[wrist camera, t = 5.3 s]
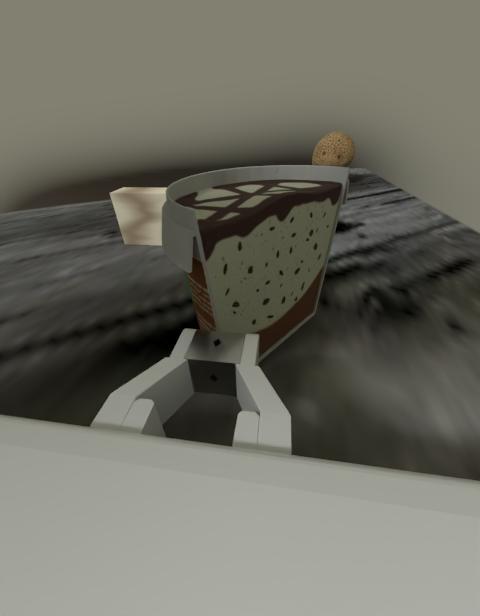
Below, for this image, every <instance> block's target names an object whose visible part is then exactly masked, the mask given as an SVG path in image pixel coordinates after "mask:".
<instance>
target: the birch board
mask: <svg viewBox="0 0 480 616" xmlns="http://www.w3.org/2000/svg"><path fill="white" fill-rule="evenodd" d="M166 189H167V188H121V189H118V190H116V191H114V192H111V193H110V196H111V199H112V203H113V206H114V209H115V213H116V216H117V219H118V223H119V226H120V230H121V233H122V236H123V240H124V243H125V244H131V245H158V246H162V206H163V204H164V203H165V201H167V200H166Z"/></svg>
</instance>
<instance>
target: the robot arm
mask: <svg viewBox="0 0 480 616" xmlns="http://www.w3.org/2000/svg"><path fill="white" fill-rule="evenodd" d="M258 360H259V334H247V333H246V334H244V333H231V332H218V331H209V330H199V329H197V330H196V329H187V328H185V329H184V330H183V331H182V333H181V335H180V337H179V339H178V341H177V343H176V345H175V347H174V349H173V351H172V353H171V355H170V357H165V358H164V359H162V360H161V361H159V362H158V363H156V364H155V365H153V366H152V367H150V368H149V369H147V370H146V371H144V372H143V373H141V374H140V375H138V376H137V377H135V378H134V379H132V380H131V381H129V382H128V383H126V384H125V385H123V386H121V387H120V388H118V389H117V390H115V391H114V392H112V393H111V394H110V396H109V397H108V399H107V400H106V402H105V403H104V405H103V406H102V408H101V409H100V411H99V413H98V414H97V416H96V417H95V419H94V420H93V422H92V423H91V425H90V426H89V427H87V426H79V425H72V424H65V423H58V422H51V421H43V420H36V419H29V418H22V417H15V416H7V415H0V616H480V481H477V480H470V479H463V478H455V477H448V476H441V475H434V474H426V473H419V472H412V471H405V470H398V469H390V468H383V467H376V466H369V465H361V464H354V463H347V462H340V461H333V460H325V459H318V458H311V457H304V456H296V455H291V415H290V413H289V412H288V410H287V409H286V407H285V406H284V404H283V403H282V401H281V399H280V398H279V396H278V395H277V393H276V392H275V390H274V389H273V387H272V385H271V384H270V382H269V381H268V379H267V378H266V376H265V375H264V373H263V371H262V370H261V368H260V367H259V366H258ZM194 392H200V393H212V394H221V395H228V396H235V397H237V399H238V401H239V404H240V406H241V408H242V411H241V412H240V413H238V417H237V422H236V428H235V433H234V439H233V444H232V447H231V446H224V445H217V444H210V443H202V442H195V441H188V440H181V439H173V438H166V435H165V432H164V430H163V427H162V425H163V424H164V423H165V422H166V421H167V420H168V419H169V418H170V417H171V416H172V415H173V414H174V413H175V412H176V411H177V410H178V409H179V408H180V407H181V406H182V405H183V404H184V403H185V402H186V401H187V400H188V399H189V398H190V397H191V396H192V395H193V394H194Z"/></svg>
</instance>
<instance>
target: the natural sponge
mask: <svg viewBox="0 0 480 616" xmlns="http://www.w3.org/2000/svg"><path fill="white" fill-rule="evenodd" d="M354 155H355V145H354V143H353V141H352V139H351V138H350V137H349V136H348V135H346V134H344V133H343V132H339V131H336V132H332V133H330V134H328V135H327V136H325V137H324V138H323V139H322V140H320V142H319V143H318V144H317V146H316V148H315V150H314V153H313V158H312V163H313V166H336V167H347V168H348V167H349V165H350V164H351V162H352V160H353V158H354Z"/></svg>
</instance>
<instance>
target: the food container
mask: <svg viewBox="0 0 480 616" xmlns="http://www.w3.org/2000/svg"><path fill="white" fill-rule="evenodd" d="M349 171H350V168H347V167H336V166H311V165H281V166H280V165H279V166H255V167H242V168H232V169H224V170H217V171H211V172H206V173H201V174H197V175H193V176H189V177H186V178H183V179H180V180H178V181H176V182H174V183H172V184H171V185H170V186H168V188H167V189H166V200H167V201H165V203H164V204H163V206H162V248H163V250H164V252H165V254H166V256H167V257H168V258H169V259H170V260H171V261H172V262H173V263H174V264H175V265H177V266H178V267H180V268H181V269H183V270H184V272H185V275H186V279H187V283H188V286H189V290H190V294H191V297H192V301H193V305H194V308H195V312H196V315H197V319H198V323H199V326H200V330H209V331H218V332H231V333H244V334H246V333H247V334H259V360H258V363H259V362H260V361H261V360H262V359H263V358H265V357H266V356H267V355H268V354H269V353H270V352H272V351H273V350H274V349H275V348H276V347H278V346H279V345H280V344H281V343H282V342H283V341H285V340H286V339H287V338H288V337H289V336H290V335H292V334H293V333H294V332H295V331H296V330H297V329H299V328H300V327H301V326H302V325H303V324H304V323H306V322H307V321H308V320H309V319H310V318H311V317H313V316H314V315H315V313H316V309H317V304H318V300H319V296H320V292H321V288H322V284H323V280H324V275H325V271H326V267H327V263H328V259H329V255H330V251H331V247H332V242H333V238H334V234H335V230H336V226H337V222H338V218H339V214H340V209H341V205H342V204H346V203H347V195H348V187H349V179H348V176H349Z"/></svg>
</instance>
